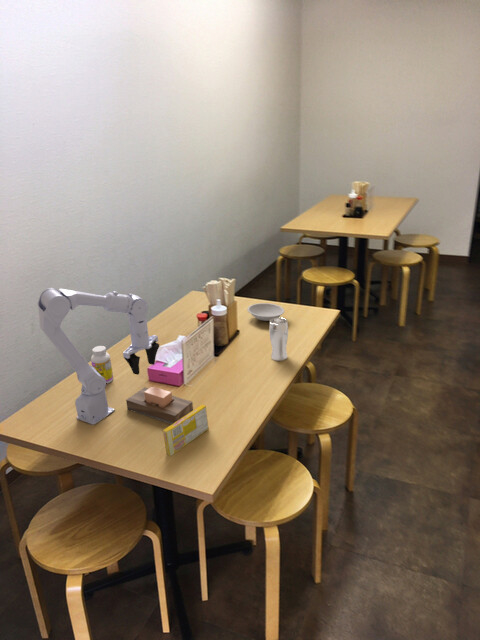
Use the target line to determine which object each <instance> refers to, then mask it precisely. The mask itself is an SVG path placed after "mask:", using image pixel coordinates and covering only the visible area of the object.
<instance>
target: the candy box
mask: <svg viewBox="0 0 480 640" xmlns="http://www.w3.org/2000/svg"><path fill="white" fill-rule="evenodd" d="M209 429H210V428H209V420H208V414H207V406H206V405H204V404H201V405H199V406H197V407H196V408H195V409H194V408H193V411H192V412H190V413H189V414H187V415H185V416H184V417H182V418H181V419H179V420H178V421H176V422H175V423H173V424H170V425H169V426H167V427H166V428H164V429H162V432H163V440H164V445H165V452H166V455H168V456H169V457H172V456H173V455H174V454H175V453H177V452H179V451H180V450H181V449H183V448H184V447H185V446H187V445H188V444H190V443H191V442H193V441H194V440H195V439H197V438H198V437H200V436H202V434H204V433H205V432H207V431H208V430H209Z"/></svg>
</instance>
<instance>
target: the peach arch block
mask: <svg viewBox="0 0 480 640" xmlns="http://www.w3.org/2000/svg"><path fill="white" fill-rule="evenodd" d="M144 396H145V400H146V402H147V403H149V404H153V403H156V404H158V406H159V407H161V408H165V407H166V406H168V405H169V404H170V403H171V401H172V396H173V394H172V391H169V390H165V389H162V388H159V387H156V386H151V387H149V389H148V390H146V391H145V392H144Z"/></svg>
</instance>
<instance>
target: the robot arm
mask: <svg viewBox="0 0 480 640" xmlns="http://www.w3.org/2000/svg"><path fill="white" fill-rule="evenodd" d="M78 306H91V307H102V308H103V309H104V310H105V312H112V313H120V314H127V319H128V327H129V333H130V334H129V335H130V341H131V344H130V345H129V346H128V347H127V348H126V349H125V350H124V351H123V352H122V356H123V359H124V360H125V361H126V362H127V364H128V365H129V367H130V368H131V369H130V370H131V371H132V374H134V375H140V358H141V357H140V356H138V355H137V354H136V353H138V352H141V351H143V350H145V352H146V357H147V363H148V365H152V366H154V365H156V358H157V353H158V350H159V348H160V344H159V343H158V342H159V338H158V337H159V336H158V335H155V334H152V335H149V327H148V321H147V312H148V309H149V305H148V304H147V301H146V300H144V298H142V297H141V296H139V295H137V294H134V293H128V294H124V293H122V294H121V293H119V292H118V291H116V290H113V291H112V292H107V293H106V294H104V295H100V294H97V293H96V294H94V293H91V292H84V291H77V290H73V289H66V288H58V289H57V288H54V287H48V288H46V289H44V290H43V291H41V293H40V295H39V298H38V301H37V307H38V317H39V328H40V330H41V331H42V332H43V333H44V335H45V337H47V338H48V340H50V343H52V344H53V346H54V347H55V348H56V349H57V351H58V352H59V353H60V354H61V355H62V356H63V358H64V359H65V361H66V362H67V363H68V364H69V366H70V367H71V368H72V369H73V370H74V373H76V376H77V377H76V378H77V380H78V382H79V383H81V389H80V390H81V392H80V394H79V396H78V397H77V398H76V399H75V402H74V403H75V408H76V414H77V415H76V416H75V417H76V419H77V420H80V421H82V422H85V423H87V424H89V425H93V426H94V425H96V424H97V423H99V422H101V420H103V419H105V418H106V417H107V416H109V415H110V414H112V413H114V412H115V408H112V407H109V404H108V397H107V392H106V386H107V384H106V380H105V379H104V378H103V377H102V376H101V375H100V374H99V373H98V372H97V371H96V369H95V368H94V367H93V366H92V365H90V363H88V361H87V360H86V358H85V357H84V356H83V355H82V354H81V352H80V351H79V349H78V348H77V347H76V346H75V344H74V343H73V342H72V340H71V339H70V338H69V337H68V335H67V334H66V333H65V331H64V330H63V329H62V328H61V325H62V322H63V321H64V319H65V318H66V317H67V315H68V314H69V312H70V310H71V311H73V310H75V309H77V307H78Z"/></svg>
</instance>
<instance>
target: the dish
mask: <svg viewBox="0 0 480 640" xmlns="http://www.w3.org/2000/svg"><path fill="white" fill-rule="evenodd" d="M247 312H248V313H249V314H250V315H251V316H253V318H255V319H257V320H259V321H264V322H268V321H269V322H270V320H271V319H273V318H280V317H281V316H282V315H284V313H285V309H284V307H283V306H281V305H279V304H275V303H269V302H268V303H267V302H259V303H254V304H250V305H249V306H248V307H247Z"/></svg>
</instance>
